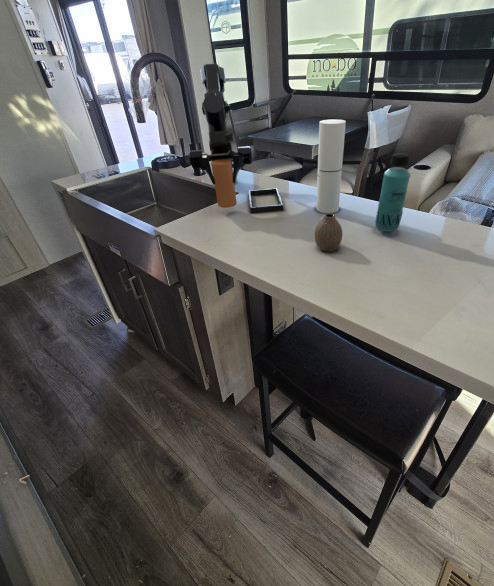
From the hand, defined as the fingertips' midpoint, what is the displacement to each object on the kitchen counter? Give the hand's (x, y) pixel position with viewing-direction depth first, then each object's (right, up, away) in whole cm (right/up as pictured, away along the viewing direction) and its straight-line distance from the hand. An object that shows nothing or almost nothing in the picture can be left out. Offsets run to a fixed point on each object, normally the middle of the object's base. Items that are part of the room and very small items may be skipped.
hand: (224, 183), depth 94 cm
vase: (+29, -22, -14) cm, 39 cm away
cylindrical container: (+32, -6, +6) cm, 34 cm away
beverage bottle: (+47, -17, -8) cm, 50 cm away
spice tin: (0, -5, +5) cm, 7 cm away
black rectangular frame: (+12, -2, +12) cm, 17 cm away
